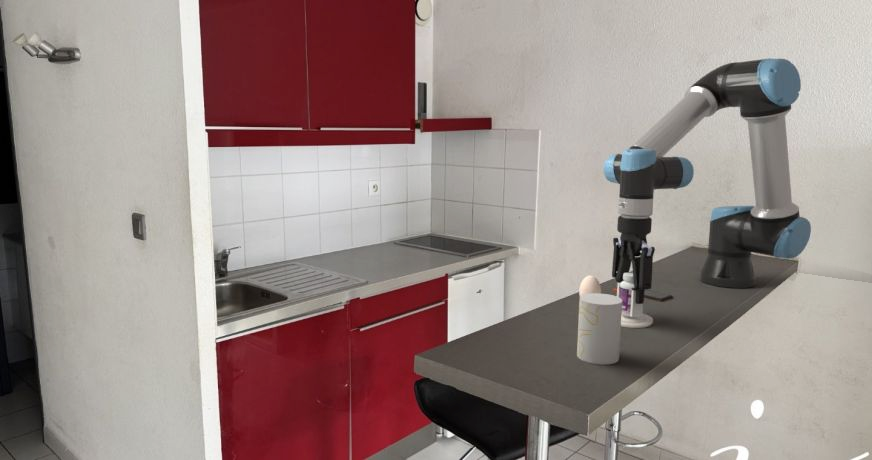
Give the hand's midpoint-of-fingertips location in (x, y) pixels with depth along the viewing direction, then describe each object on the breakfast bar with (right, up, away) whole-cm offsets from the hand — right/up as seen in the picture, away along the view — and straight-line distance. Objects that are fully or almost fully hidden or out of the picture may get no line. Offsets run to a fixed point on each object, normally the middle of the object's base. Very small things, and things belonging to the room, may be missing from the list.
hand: (628, 312), depth 143 cm
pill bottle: (0, 0, 0) cm, 1 cm away
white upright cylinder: (-14, -6, -23) cm, 27 cm away
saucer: (0, -2, 0) cm, 2 cm away
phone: (+11, +1, +24) cm, 26 cm away
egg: (-6, 0, +13) cm, 14 cm away
